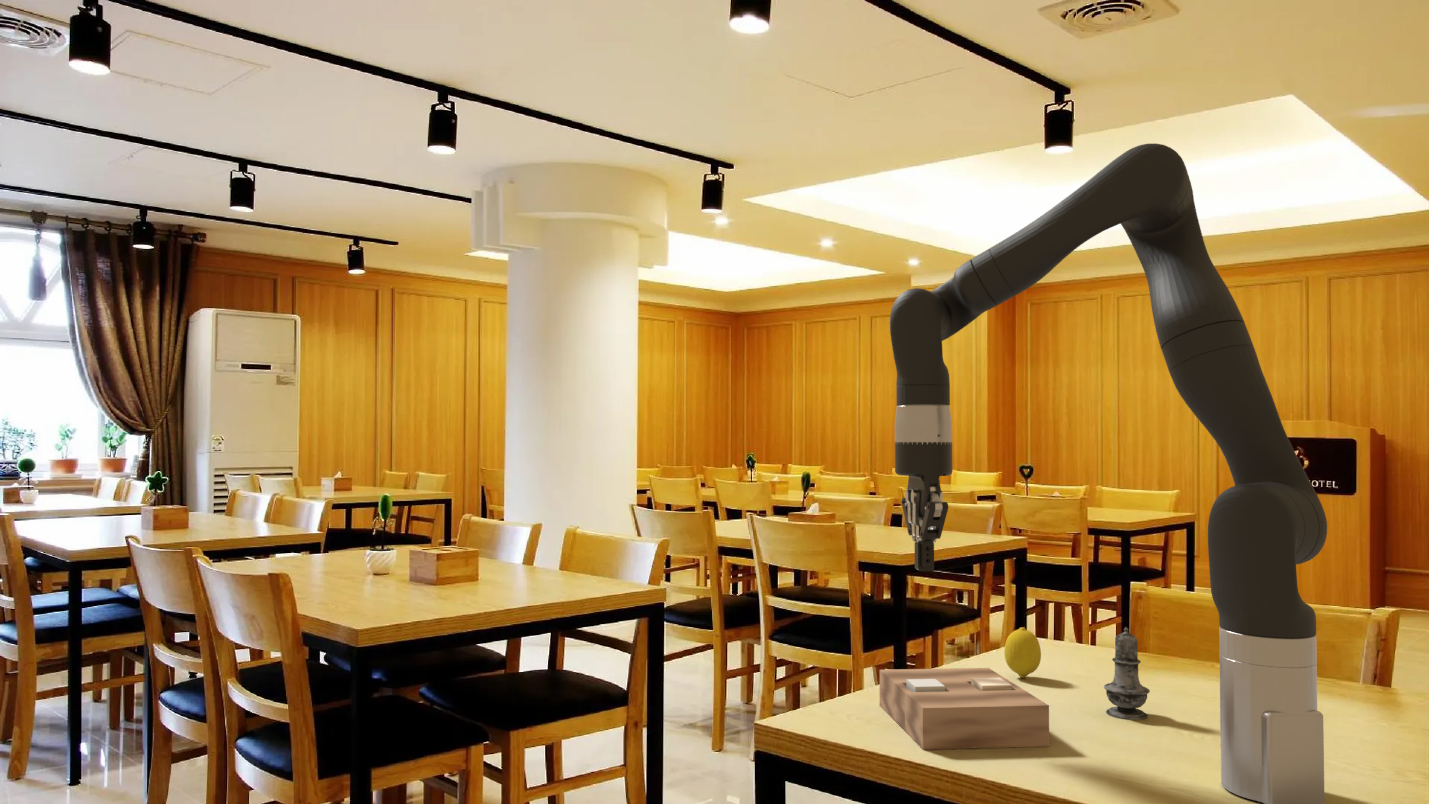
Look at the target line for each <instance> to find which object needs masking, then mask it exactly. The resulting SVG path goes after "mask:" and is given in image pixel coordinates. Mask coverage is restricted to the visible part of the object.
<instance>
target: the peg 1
mask: <svg viewBox="0 0 1429 804" xmlns="http://www.w3.org/2000/svg"><path fill="white" fill-rule="evenodd" d="M906 687H907V688H908V689H910V690H911V691H912V692H945V686H944V685H943V684H941V683H940V682H939V681H937V680H936V679H906Z"/></svg>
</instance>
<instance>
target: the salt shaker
mask: <svg viewBox="0 0 1429 804" xmlns="http://www.w3.org/2000/svg"><path fill="white" fill-rule="evenodd" d="M1114 639H1115V641H1114V649H1115V650H1114V651H1115V653H1114V657H1113V658H1112V661H1113V662H1114V676H1113V680H1112V681H1111V682H1110V683H1109V682H1108V683H1106V684H1104V685H1103V689H1104V690H1105V691H1106V693H1105V694H1106V697H1107V699H1108V700H1109V702H1110V703H1111V704H1112V705H1114V706H1112V707H1110V708H1108V709H1106V711H1105V713H1106V714H1107V715H1108V716H1110V717H1113V718H1116V719H1122V720H1131V721H1138V720H1145V719H1147V718H1148V717H1149V716H1148V714H1147V713H1146V712H1145V711H1144V710H1141V709H1139V708H1141V707H1142V706H1143V705H1144V704H1146V701H1147V699H1148V694H1150V692H1151V691H1150V689H1149V688H1148V687H1146V686H1143V685H1142V683H1141V682H1140V678H1139V664H1141V660H1140V659H1138V656H1139V655H1138V649H1139V647H1138V646H1139V645H1138V644H1139V643H1138V638H1137V637H1136V636H1135V635H1133V634H1131V633H1130V632H1129V628H1128V627H1127V626H1125V627H1124V629H1123V632H1122V633H1119V634H1117V635H1116V636H1115V638H1114Z"/></svg>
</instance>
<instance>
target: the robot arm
mask: <svg viewBox="0 0 1429 804" xmlns="http://www.w3.org/2000/svg"><path fill="white" fill-rule="evenodd" d="M1191 182H1192V181H1191V179H1190V175H1189V173H1188V169H1187V167H1186V164H1185V162H1184V160H1183V158H1182V156H1181V155H1180V154H1179V153H1178V152H1177V151H1176V150H1174V148H1171V147H1170V146H1167V145H1166V144H1162V143H1155V142H1154V143H1143V144H1139V145H1136V146H1133V147H1132V148H1130V149H1128V150H1127V151H1124V152H1123V153H1122V154H1120V155H1119V156H1118V157H1116V158H1115V159H1113V160H1112V161H1110V163H1108V164H1107V165H1106V166H1105V167H1103V168H1102V169H1101V170H1099V171H1098V172H1097V173H1095V175H1093V176H1092V177H1091V178H1090V179H1088V180H1087V181H1086V182H1085V183H1083V184H1082V185H1081V186H1080V187H1079V188H1077V189H1076V190H1074V191H1073V192H1072V193H1071V194H1069V195H1067V196H1066V197H1065V198H1063V200H1061V201H1060V202H1058V203H1057V204H1055V205H1054V206H1053V207H1052V208H1051V209H1049V210H1047V211H1046V212H1044V214H1042V215H1040V216H1039V217H1037V218H1036V219H1035V220H1033V221H1032V222H1030V223H1029V224H1027V225H1026V226H1024V227H1023V228H1021V229H1020V230H1018V231H1016V232H1014V233H1013V234H1012V235H1010V236H1008V237H1007V238H1005V239H1003V240H1002V241H1000V242H998V243H996V244H995V245H993V246H991V247H989V248H988V249H986V250H984V251H982V252H981V253H979V254H977V255H976V256H973V257H972V258H970V259H969V260H967V261H966V262H964V263H962V264H961V265H960V266H959V267H958V268H957V269H955V271H954V273H953V276H952V277H951V278H949V279H948V280H947V281H945V282H944V283H942V284H941V285H939V286H937V287H936V288H934V289H932V290H931V291H930V290H927V289H925V288H919V287H918V288H910V289H907V290H905V291H903V292H901V293H900V294H899V296H898V297H896V299H895V300H894V302H893V304H892V307H891V311H890V315H889V333H890V342H891V347H892V354H893V359H894V364H895V369H896V382H895V384H896V387H895V388H896V391H895V392H896V398H895V399H896V408H895V409H896V411H895V416H894V417H895V418H894V472H895V474H896V475H897V476H900V477H901V476H904V477H905V476H906V477H907V476H908V483H907V489H905V492H904V493H905V496H904V497H902V498H901V502H900V503H901V507H902V510H903V515H904V520H905V525H906V529H907V533H908V536H911V540H912V542H914V569H916V570H917V571H920V572H932V571H934V570H935V543H936V542H937V540H940V539H941V537H942V534H943V530H944V526H945V522H946V518H947V515H948V511H949V503H948V501H943V500H944V499H943V496H944V495H943V491H942V489H941V488H942V487H941V483H940V482H941V481H940V478H941V477H947V476H951V475H952V474H953V423H952V422H953V421H952V414H951V406H950V405H951V391H950V390H951V386H950V384H951V383H950V373H949V370H948V369H949V368H948V367H947V365H946V364H945V361H944V357H943V354H944V353H943V342H944V341H945V340H948V339H949V338H951V337H952V336H954V335H955V334H957V333H958V332H960V331H961V330H963V329H964V328H965V327H967V326H968V325H969V324H971V323H973V321H975V320H976V319H978V317H979V316H981V315H982V314H984V313H985V312H987V311H989V310H991V309H993V308H996V307H998V306H999V305H1001V304H1004V302H1007V301H1008V300H1010V299H1012V298H1014V297H1015V296H1017V295H1019V294H1021V293H1023V292H1024V291H1026V290H1027V289H1029V288H1031V287H1033V286H1034V285H1035V284H1037V283H1038V282H1040V281H1041V280H1042V279H1043V278H1045V276H1047V275H1048V274H1049V273H1050V272H1051V271H1052V270H1053V269H1054V268H1056V266H1058V265H1059V264H1060V263H1061V262H1062V261H1063V260H1064V259H1066V258H1067V257H1068V256H1069V255H1070V254H1071V253H1072V252H1074V251H1075V250H1076V249H1078V247H1080V246H1082V245H1083V244H1084V243H1086V242H1087V241H1089V240H1091V239H1093V238H1094V237H1096V236H1097V235H1099V234H1100V233H1102V232H1104V231H1107V230H1108V229H1111V228H1113V227H1116V226H1118V225H1121V226H1122V228H1123V230H1124V232H1125V233H1126V235H1127V237H1128V239H1129V240H1130V241H1129V242H1130V243H1131V245H1132V247H1133V250H1134V252H1135V253H1136V255H1137V257H1138V260H1139V262H1140V265H1141V266H1142V268H1143V271H1144V274H1145V278H1146V281H1147V285H1148V290H1149V299H1150V306H1151V313H1152V318H1153V323H1154V327H1155V328H1154V329H1155V332H1156V335H1157V339H1158V343H1159V346H1160V347H1159V348H1160V350H1161V352H1162V356H1163V359H1164V361H1165V364H1166V367H1167V369H1168V372H1169V373H1168V374H1169V375H1170V377H1171V380H1172V383H1173V384H1174V387H1175V390H1177V392H1178V394H1179V395H1180V398H1181V399H1182V400H1183V401H1184V403H1185V404H1186V406H1187V407H1188V408H1189V409H1190V411H1191V412H1192V413H1193V415H1194V416H1195V417H1196V418H1197V419H1198V421H1199V422H1200V423H1201V425H1203V427H1204V428H1205V429H1206V430H1207V431H1208V433H1209V434H1210V435H1211V437H1212V438H1213V440H1214V441H1215V443H1216V444H1217V446H1218V447H1219V449H1220V450H1221V452H1222V455H1223V456H1224V459H1225V461H1226V463H1227V465H1228V469H1229V470H1230V473H1231V477H1232V480H1233V483H1234V486H1231V487H1228V488H1227V489H1225V490H1223V491H1222V492H1221V493H1220V494H1219V495H1218V496H1217V497H1216V499H1215V500H1214V502H1213V504H1212V507H1211V508H1210V512H1209V514H1208V515H1209V516H1208V522H1207V523H1208V524H1207V548H1208V549H1207V551H1208V565H1209V566H1208V567H1209V584H1210V593H1211V598H1212V600H1213V604H1214V605H1215V607H1216V610H1217V612H1218V622H1219V623H1218V624H1219V629H1218V630H1219V632H1218V633H1219V638H1218V639H1219V709H1220V710H1219V714H1220V715H1219V719H1220V721H1219V725H1220V727H1219V728H1220V729H1219V730H1220V735H1219V736H1220V740H1219V741H1220V777H1221V778H1220V784H1221V786H1222V787H1223V788H1224V789H1225V790H1227V791H1229V792H1230V793H1233V794H1234V795H1237V796H1239V797H1242V798H1246V799H1249V800H1252V801H1257V802H1260V803H1263V804H1325V803H1326V802H1325V749H1324V747H1325V744H1324V743H1325V741H1324V740H1325V739H1324V738H1325V735H1324V734H1325V733H1324V728H1325V727H1324V715H1323V713H1322V712H1321V711H1320V710H1318V679H1317V678H1318V677H1317V676H1318V673H1317V671H1318V669H1317V667H1318V666H1317V662H1318V659H1317V658H1318V655H1317V653H1318V651H1317V616H1316V611H1315V609H1314V608H1313V607H1312V606H1311V605H1309V604H1307V603H1306V602H1305V601H1304V600H1303V599H1302V597H1301V595H1300V593H1299V585H1298V576H1297V575H1298V574H1297V565H1301V564H1305V563H1307V562H1309V561H1311V560H1312V559H1314V558H1315V557H1317V555H1318V554H1319V553H1320V552H1321V551H1322V550H1323V547H1324V546H1325V544H1326V539H1327V535H1328V521H1327V516H1326V513H1325V509H1324V508H1323V504H1322V502H1321V500H1320V498H1319V496H1318V494H1317V492H1316V491H1315V488H1314V487H1313V484H1312V483H1311V480H1310V478H1309V477H1308V475H1307V473H1306V471H1305V469H1304V467H1303V465H1302V464H1301V463H1302V462H1300V459H1299V457H1298V456H1297V454H1296V452H1295V450H1294V448H1293V445H1292V443H1291V441H1290V439H1289V438H1288V435H1287V433H1286V431H1285V428H1284V425H1283V422H1282V420H1281V418H1280V414H1279V412H1278V409H1277V405H1276V403H1275V400H1274V398H1273V395H1272V393H1271V391H1270V388H1269V385H1268V383H1267V380H1266V378H1265V375H1264V372H1263V370H1262V367H1261V363H1260V360H1259V358H1258V354H1257V352H1256V351H1257V350H1256V348H1255V346H1254V344H1253V341H1252V339H1251V336H1250V334H1249V330H1248V327H1247V325H1246V323H1245V320H1244V318H1243V315H1242V314H1241V313H1242V312H1241V311H1240V309H1239V307H1238V305H1237V302H1236V301H1235V299H1234V297H1233V295H1232V293H1231V291H1230V289H1229V288H1228V286H1227V284H1226V282H1225V281H1224V280H1223V278H1222V277H1221V275H1220V273H1219V271H1218V270H1217V268H1216V266H1215V265H1214V263H1213V262H1212V260H1211V258H1210V255H1209V252H1208V250H1207V247H1206V244H1205V240H1204V237H1203V233H1202V229H1201V226H1200V221H1199V218H1198V213H1197V209H1196V204H1195V199H1194V190H1193V187H1192V183H1191Z"/></svg>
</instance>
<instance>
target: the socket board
mask: <svg viewBox="0 0 1429 804" xmlns="http://www.w3.org/2000/svg"><path fill="white" fill-rule="evenodd" d="M971 678H1001V679H1003V680H1004V681H1006V682H1008V683H1009V684H1011V685H1012V690H999V691H979V690H978V689H976V688H975V687H974V686H972V685H971ZM906 679H936V680H937V681H939V682H940V683H941V684H943V685H944V686H945V692H912V691H911V690H910V689H908V688H907V687H906ZM879 706H880V707H881V708H882V710H883V711H885V713H886V714H887V715H889V716H890V717H891V718H892V720H894V721H895V723H896V724H897V725H899V727H900V728H901V729H902V730H903V731H904V732H905V733H906V734H907V735H908V736H909V737H910V738H911V739H912V740H913V741H914V742H915V743H916V745H918V746H919V747H920V748H921V749H922V750H923V749H924V750H956V749H959V750H960V749H992V748H993V749H997V748H998V749H999V748H1001V749H1002V748H1033V747H1035V748H1039V747H1044V748H1045V747H1050V705H1049V704H1047V703H1046V702H1045V701H1043V700H1041V699H1040V698H1039V697H1036V696H1034V695H1033V694H1031V693H1029V692H1028V691H1027V690H1025V689H1023V688H1022V687H1021V686H1019V685H1017V684H1015V683H1013V681H1010V680H1008V678H1006V677H1004V676H1003V675H1001V674H999V672H996V671H994V670H993V669H991V668H990V667H967V668H964V667H959V668H955V667H953V668H952V667H951V668H911V669H910V668H908V669H906V668H905V669H904V668H903V669H902V668H900V669H894V668H893V669H879Z"/></svg>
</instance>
